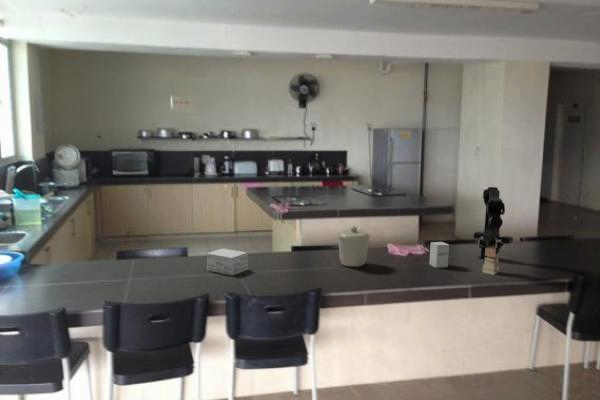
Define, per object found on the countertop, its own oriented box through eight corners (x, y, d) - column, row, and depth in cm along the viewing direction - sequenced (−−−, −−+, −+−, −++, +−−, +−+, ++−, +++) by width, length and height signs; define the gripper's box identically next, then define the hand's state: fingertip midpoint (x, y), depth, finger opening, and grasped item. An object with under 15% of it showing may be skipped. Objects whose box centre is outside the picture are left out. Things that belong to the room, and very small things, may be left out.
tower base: (487, 270, 273) (487, 262, 273) (498, 272, 269) (499, 265, 269) (482, 272, 269) (482, 265, 268) (493, 274, 265) (494, 267, 264)
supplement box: (436, 268, 275) (437, 245, 273) (429, 264, 282) (430, 241, 280) (448, 267, 277) (449, 244, 275) (441, 263, 284) (442, 241, 282)
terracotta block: (488, 253, 271) (489, 246, 271) (498, 255, 268) (498, 248, 267) (484, 255, 268) (485, 248, 267) (494, 257, 264) (494, 249, 264)
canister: (368, 270, 269) (369, 230, 266) (333, 267, 272) (334, 228, 269) (370, 261, 286) (371, 224, 283) (338, 259, 290) (339, 222, 287)
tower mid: (488, 263, 272) (489, 256, 271) (497, 265, 268) (498, 257, 268) (484, 265, 269) (484, 257, 268) (493, 267, 265) (493, 259, 264)
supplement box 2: (248, 269, 267) (248, 252, 266) (232, 276, 256) (232, 257, 254) (223, 264, 276) (222, 247, 274) (206, 270, 264) (206, 252, 263)
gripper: (469, 223, 266) (467, 252, 268) (505, 229, 253) (503, 259, 256) (479, 220, 274) (477, 249, 276) (514, 226, 261) (512, 255, 264)
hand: (491, 253), depth 268 cm, fingers closed on terracotta block, 5 cm apart
